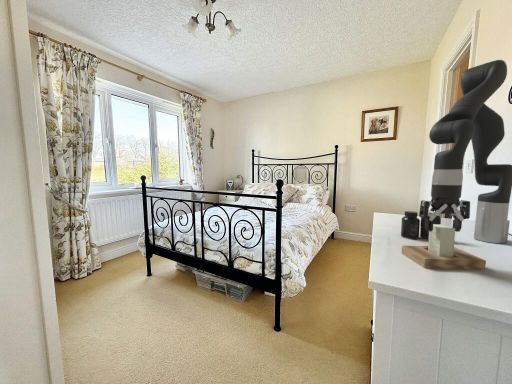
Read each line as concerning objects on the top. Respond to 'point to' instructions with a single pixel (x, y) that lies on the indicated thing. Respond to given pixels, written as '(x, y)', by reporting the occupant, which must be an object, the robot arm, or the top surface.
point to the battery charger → (423, 231)
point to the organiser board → (443, 259)
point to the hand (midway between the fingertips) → (442, 230)
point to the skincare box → (442, 240)
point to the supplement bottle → (410, 225)
